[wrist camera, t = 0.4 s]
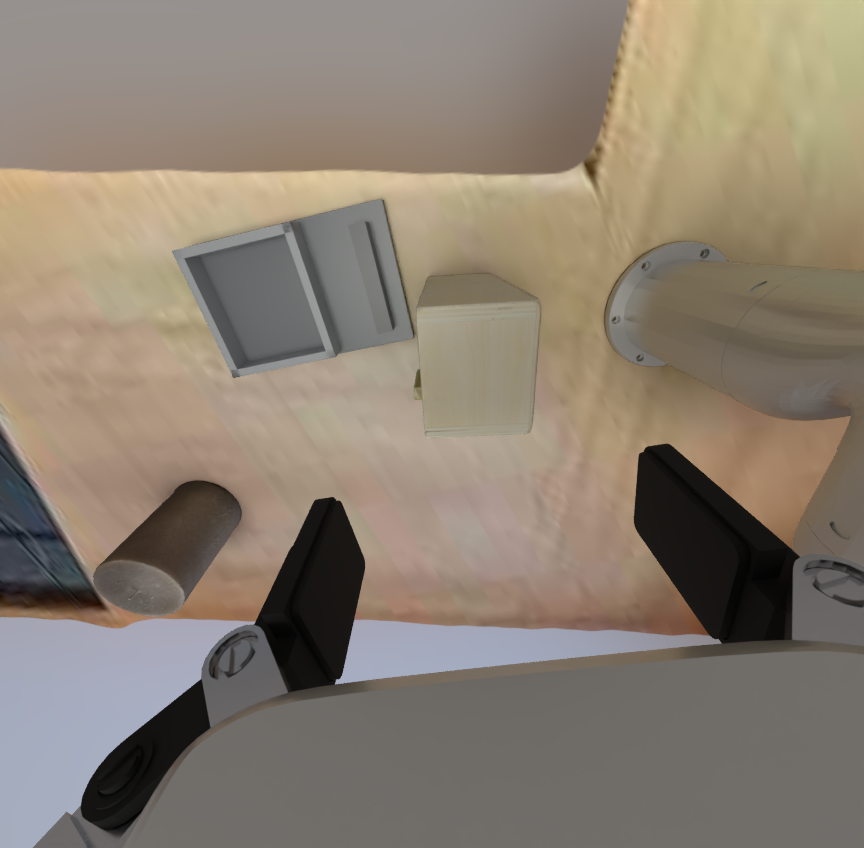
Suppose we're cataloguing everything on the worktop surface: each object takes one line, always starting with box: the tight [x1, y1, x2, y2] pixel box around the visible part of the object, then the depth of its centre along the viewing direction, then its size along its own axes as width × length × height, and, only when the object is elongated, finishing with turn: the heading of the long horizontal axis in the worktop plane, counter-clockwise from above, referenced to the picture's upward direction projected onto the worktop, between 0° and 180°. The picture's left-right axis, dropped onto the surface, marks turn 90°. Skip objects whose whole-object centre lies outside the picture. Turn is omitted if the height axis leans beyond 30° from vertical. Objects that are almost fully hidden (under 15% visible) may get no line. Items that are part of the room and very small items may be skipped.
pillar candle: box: [93, 481, 241, 617], centre depth 45 cm, size 10×10×15 cm
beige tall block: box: [414, 273, 541, 438], centre depth 29 cm, size 8×7×21 cm
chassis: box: [172, 199, 414, 378], centre depth 36 cm, size 20×13×4 cm, turn 102°
